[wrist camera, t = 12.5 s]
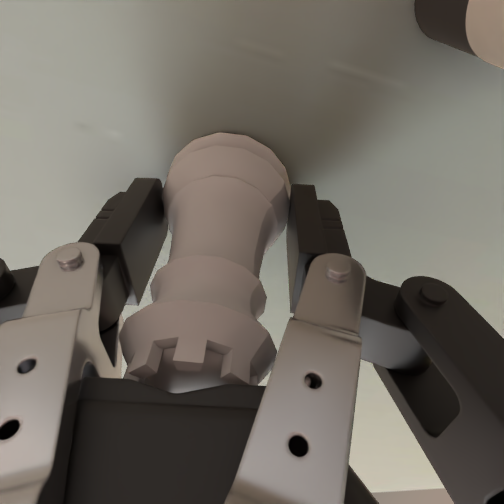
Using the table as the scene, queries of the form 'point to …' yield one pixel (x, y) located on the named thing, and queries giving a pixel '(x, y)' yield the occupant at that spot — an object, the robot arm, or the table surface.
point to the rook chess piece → (211, 269)
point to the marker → (465, 26)
